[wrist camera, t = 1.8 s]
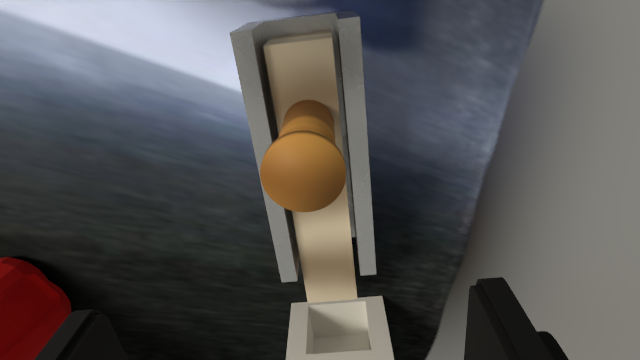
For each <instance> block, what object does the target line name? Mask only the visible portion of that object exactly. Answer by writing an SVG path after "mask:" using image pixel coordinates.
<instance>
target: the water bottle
mask: <svg viewBox="0 0 640 360" xmlns="http://www.w3.org/2000/svg"><path fill="white" fill-rule="evenodd" d="M70 314H71V303H70V301H69V299H68V297H67V295H66V294H65V293H64V292H63V290H62V289H61V288H60V287H58V286H57V285H55V284H54V283H52V282H51V281H49V280H48V279H47V278H46V276H45V275H44V274H43V273H42V272H41V270H39V269H38V268H36V267H35V266H33V265H32V264H31V263H29V262H27V261H23V260H19V259H15V258H11V257H4V258H0V360H34V359H35V358H36V357H37V355H38V354H39V353H40V351H41V350H42V349H43V348H44V346H45V345H46V344H47V342H48V341H49V340H50V339H51V337H52V336H53V335H54V334H55V332H56V331H57V330H58V328H59V327H60V326H61V325H62V323H63V322H64V321H65V319H66V318H67V317H68V316H69V315H70Z"/></svg>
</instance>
